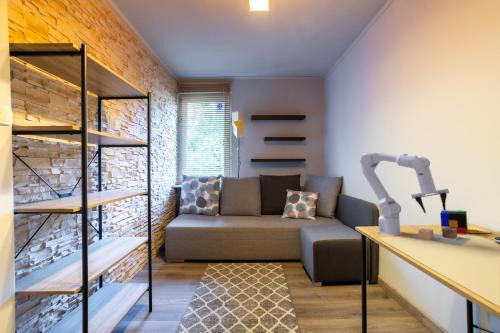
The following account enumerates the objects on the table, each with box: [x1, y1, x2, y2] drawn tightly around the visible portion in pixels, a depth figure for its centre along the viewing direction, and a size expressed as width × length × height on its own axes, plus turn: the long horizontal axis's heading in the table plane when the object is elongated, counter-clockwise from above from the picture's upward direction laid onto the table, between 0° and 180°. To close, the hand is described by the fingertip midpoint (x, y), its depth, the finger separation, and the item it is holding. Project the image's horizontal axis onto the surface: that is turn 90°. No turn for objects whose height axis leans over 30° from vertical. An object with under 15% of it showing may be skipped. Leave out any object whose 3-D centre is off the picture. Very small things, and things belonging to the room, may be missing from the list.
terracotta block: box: [418, 228, 434, 241], centre depth 126 cm, size 4×4×4 cm
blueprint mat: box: [409, 232, 471, 247], centre depth 125 cm, size 20×14×1 cm
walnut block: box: [441, 227, 458, 239], centre depth 125 cm, size 4×4×4 cm
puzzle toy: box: [439, 209, 469, 235], centre depth 135 cm, size 10×10×10 cm
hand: (434, 211), depth 123 cm, fingers open, 7 cm apart
